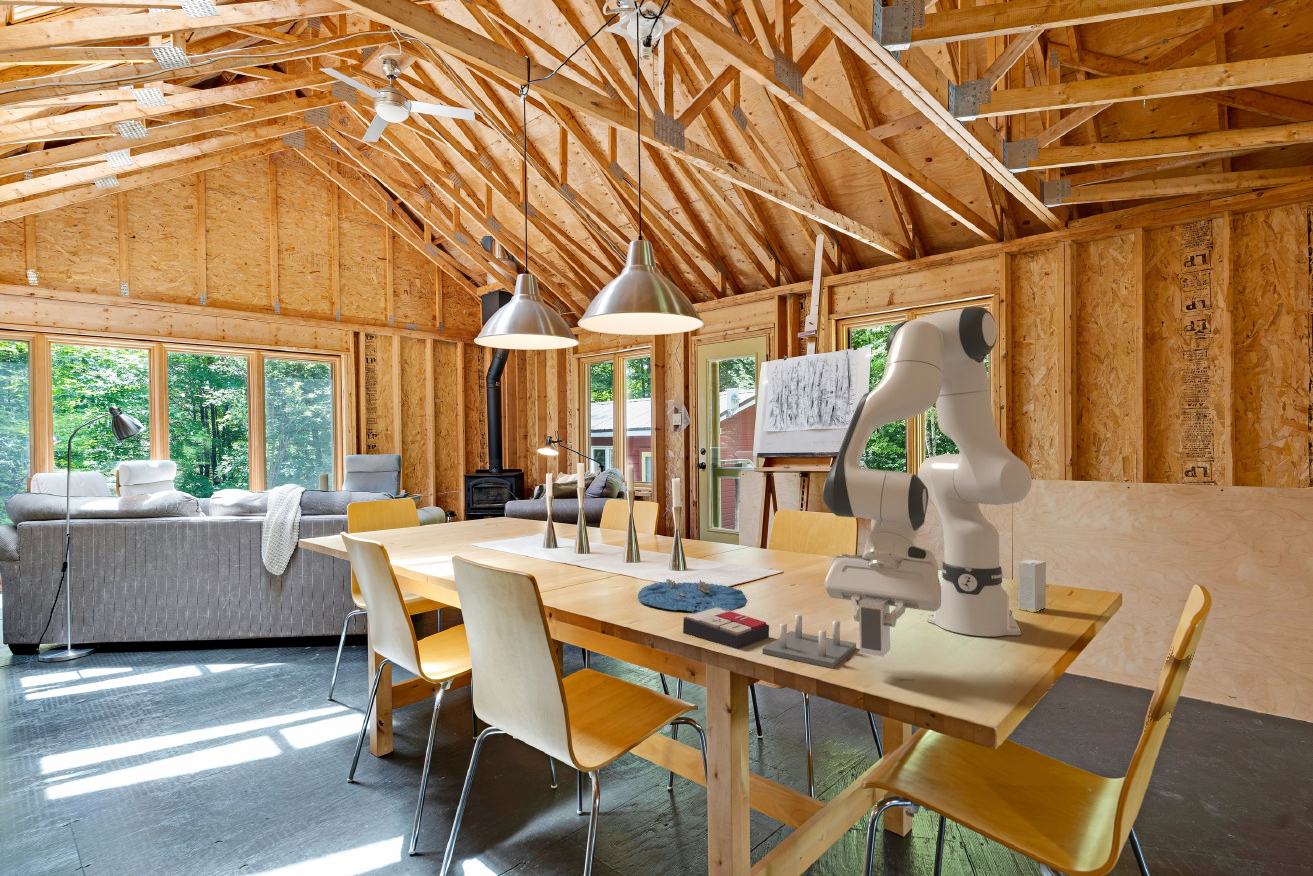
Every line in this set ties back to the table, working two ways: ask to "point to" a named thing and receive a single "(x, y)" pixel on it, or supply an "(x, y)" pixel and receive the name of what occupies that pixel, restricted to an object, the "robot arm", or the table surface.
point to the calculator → (725, 628)
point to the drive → (874, 626)
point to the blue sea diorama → (691, 596)
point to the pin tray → (810, 646)
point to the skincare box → (1032, 585)
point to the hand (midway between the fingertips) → (873, 622)
